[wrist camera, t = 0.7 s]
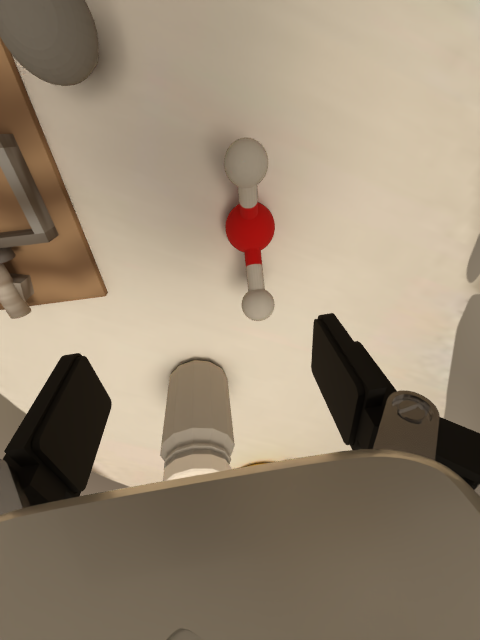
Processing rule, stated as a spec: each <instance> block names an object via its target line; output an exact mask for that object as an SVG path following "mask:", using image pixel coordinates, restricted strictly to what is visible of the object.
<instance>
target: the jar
mask: <svg viewBox="0 0 480 640" xmlns="http://www.w3.org/2000/svg"><path fill="white" fill-rule="evenodd" d="M233 448H234V436H233V427H232V418H231V409H230V399H229V390H228V381H227V377H226V375H225V373H224V372H223V370H222V369H221V368H220V367H218V366H216V365H214V364H213V363H211V362H209V361H201V360H194V361H191V362H187V363H184V364H182V365H180V366H178V367H177V368H176V369H175V371H174V372H173V373H172V374H171V375H170V379H169V387H168V395H167V403H166V411H165V419H164V427H163V436H162V444H161V453H160V456H161V457H162V458H163V460H164V461H165V464H164V476H163V481H168V480H173V479H179V478H185V477H190V476H196V475H202V474H208V473H213V472H219V471H225V470H230V469H231V467H230V465H229V464H230V461H231V458H230V456H231V454H232V451H233Z"/></svg>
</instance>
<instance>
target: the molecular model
mask: <svg viewBox="0 0 480 640" xmlns="http://www.w3.org/2000/svg"><path fill="white" fill-rule="evenodd" d="M224 167H225V172H226V174H227V176H228V178H229V180H230V181H231V182H232V183H233V184H235V185H236V186H238V195H239V204H238V205H237V206H236V207H234V208H233V209H232V211H231V212H230V213H229V215H228V217H227V220H226V234H227V237H228V240H229V241H230V243H231V244H232V245H233V246H234V247H235V248H236V249H238V250H239V251H242V252H244V253H245V262H246V272H247V282H248V292H247V293H246V294H245V296H244V297H243V300H242V309H243V312H244V314H245V315H246V316H247V317H248V318H249V319H251V320H254V321H262V320H265V319H267V318H268V317H269V316H270V315H271V314H272V312H273V310H274V299H273V297H272V295H271V294H270V293H269V292H268V291H266V290H265V288H264V279H263V269H262V260H261V250H262V249H264V248H265V247H266V246H267V245H268V244H269V243H270V241H271V240H272V237H273V235H274V230H275V223H274V219H273V216H272V214H271V212H270V211H269V210H268V209H267V208H266V207H265V206H264V205H262V204H260V203H258V191H257V184H259V183H260V182H261V181H262V180H263V178H264V176H265V175H266V172H267V168H268V157H267V153H266V151H265V149H264V147H263V146H262V145H261V144H260V143H259V142H258V141H256V140H254V139H251V138H241V139H238V140H237V141H235V142H234V143H232V144H231V145H230V147H229V148H228V150H227V152H226V155H225V159H224Z"/></svg>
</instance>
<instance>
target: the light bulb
mask: <svg viewBox="0 0 480 640" xmlns="http://www.w3.org/2000/svg"><path fill="white" fill-rule="evenodd" d="M0 37H1V39H2V41H3V43H4V44H5V46H6V47H7V48H8V50H9V51H10V52H11V54H12V55H13V56H14V58H15V59H16V60H17V61H18V62H19V63H20V64H21V65H22V66H23V67H24V68H26V69H27V70H28V71H29V72H30V73H32V74H33V75H35V76H36V77H38V78H40V79H41V80H44V81H46V82H49V83H52V84H55V85H61V86H68V85H75V84H78V83H80V82H82V81H83V80H85V79H86V78H87V77H88V76H89V75H90V74H91V72H92V71H93V69H94V68H95V66H96V65H97V63H98V37H97V31H96V27H95V23H94V20H93V17H92V15H91V12H90V10H89V8H88V6H87V4H86V2H85V0H0Z"/></svg>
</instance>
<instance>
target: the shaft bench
mask: <svg viewBox="0 0 480 640" xmlns="http://www.w3.org/2000/svg"><path fill="white" fill-rule="evenodd" d="M107 293H108V292H107V290H106V287H105V285H104V282H103V280H102V277H101V275H100V272H99V270H98V267H97V265H96V262H95V260H94V258H93V255H92V253H91V250H90V248H89V245H88V243H87V240H86V238H85V235H84V233H83V230H82V228H81V225H80V223H79V220H78V218H77V215H76V213H75V211H74V208H73V206H72V203H71V201H70V198H69V196H68V193H67V191H66V188H65V186H64V183H63V181H62V178H61V176H60V173H59V171H58V168H57V166H56V164H55V161H54V159H53V156H52V154H51V151H50V149H49V146H48V144H47V141H46V139H45V136H44V134H43V131H42V129H41V126H40V124H39V121H38V119H37V117H36V114H35V112H34V109H33V107H32V104H31V102H30V99H29V97H28V94H27V92H26V89H25V87H24V84H23V82H22V79H21V77H20V74H19V72H18V70H17V67H16V65H15V62H14V60H13V57H12V55H11V52H10V51H9V50H8V48H7V47H6V46H5V44H4V43H3V41H2V39H1V37H0V310H3V309H5V310H6V312H7V313H8V315H9V316H10V318H13V319H15V318H20V317H23V316H25V315H27V314H29V313H30V312H31V309H30V307H29V306H33V305H41V304H49V303H56V302H64V301H72V300H80V299H87V298H95V297H103V296H106V294H107Z"/></svg>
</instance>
